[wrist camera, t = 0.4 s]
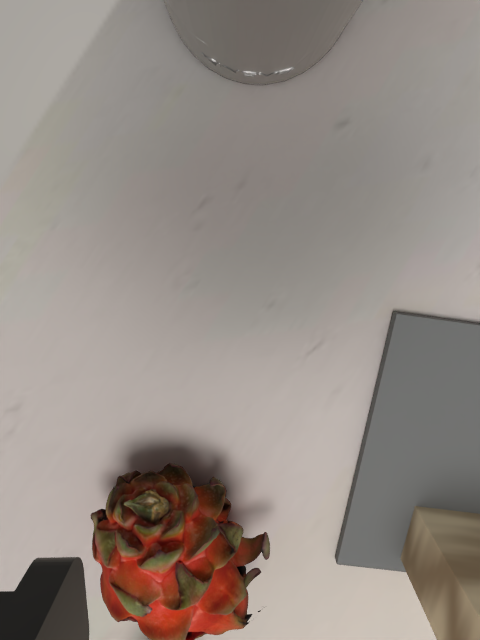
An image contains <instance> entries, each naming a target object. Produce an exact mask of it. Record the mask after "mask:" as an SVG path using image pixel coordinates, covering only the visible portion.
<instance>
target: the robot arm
mask: <svg viewBox="0 0 480 640" xmlns="http://www.w3.org/2000/svg"><path fill="white" fill-rule="evenodd" d="M362 1H363V0H164V2H165V4H166V7H167V10H168V13H169V15H170V18H171V20H172V22H173V24H174V26H175V28H176V30H177V32H178V34H179V36H180V38H181V39H182V41H183V42H184V43H185V45H186V46H187V47H188V49H189V50H190V51H191V53H192V54H193V55H194V56H195V57H196V58H197V59H199V60H200V61H201V62H202V63H203V64H204V65H205V66H207V67H208V68H209V69H211V70H212V71H214V72H216V73H218V74H220V75H222V76H223V77H225V78H227V79H231V80H234V81H238V82H242V83H245V84H265V85H266V84H271V83H276V82H281V81H285V80H288V79H290V78H292V77H294V76H297V75H299V74H301V73H303V72H305V71H306V70H307V69H309V68H310V67H312V66H313V65H314V64H316V63H317V62H318V61H320V60H321V58H322V57H323V56H324V55H325V54H326V53H327V52H328V51H329V50H330V48H331V47H332V46H333V45H334V44H335V42H336V41H337V39H338V38H339V36H340V35H341V33H342V31H343V30H344V28H345V27H346V25H347V24H348V22H349V21H350V19H351V18H352V16H353V15H354V13H355V12H356V10H357V9H358V7H359V6H360V4H361V3H362ZM0 640H89V621H88V610H87V600H86V589H85V579H84V568H83V563H82V560H81V559H80V558H79V557H63V558H37V559H35V560H34V561H33V562H32V564H31V565H30V567H29V568H28V570H27V572H26V573H25V575H24V577H23V578H22V580H21V582H20V583H19V585H18V587H17V588H16V590H15V591H9V592H0Z"/></svg>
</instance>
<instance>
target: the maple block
mask: <svg viewBox="0 0 480 640" xmlns="http://www.w3.org/2000/svg"><path fill="white" fill-rule="evenodd" d="M400 559H401V561H402V563H403V566H404V568H405V570H406V572H407V574H408V577H409V579H410V581H411V583H412V585H413V588H414V590H415V592H416V594H417V596H418V599H419V601H420V603H421V605H422V607H423V610H424V612H425V614H426V616H427V618H428V621H429V623H430V625H431V627H432V629H433V632H434V634H435V636H436V638H437V640H480V514H477V513H469V512H460V511H452V510H444V509H435V508H427V507H419V506H415V508H414V512H413V515H412V519H411V522H410V526H409V529H408V533H407V536H406V540H405V543H404V547H403V551H402V554H401V558H400Z"/></svg>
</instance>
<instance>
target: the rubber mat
mask: <svg viewBox="0 0 480 640" xmlns="http://www.w3.org/2000/svg"><path fill="white" fill-rule="evenodd" d="M415 506H419V507H427V508H435V509H444V510H452V511H460V512H469V513H477V514H480V323H473V322H466V321H459V320H452V319H445V318H437V317H430V316H423V315H416V314H409V313H401V312H394V311H393V315H392V319H391V323H390V327H389V331H388V336H387V340H386V344H385V348H384V353H383V357H382V361H381V365H380V369H379V374H378V378H377V382H376V386H375V391H374V395H373V399H372V403H371V407H370V412H369V416H368V420H367V424H366V429H365V433H364V437H363V441H362V445H361V450H360V454H359V458H358V462H357V467H356V471H355V475H354V479H353V483H352V488H351V492H350V496H349V500H348V505H347V509H346V513H345V517H344V521H343V526H342V530H341V534H340V538H339V542H338V547H337V551H336V555H335V559H336V563H337V564H339V565H348V566H357V567H366V568H375V569H384V570H393V571H401V572H406V570H405V568H404V566H403V563H402V561H401V559H400V558H401V554H402V551H403V547H404V543H405V540H406V536H407V533H408V529H409V526H410V522H411V519H412V515H413V512H414V508H415Z"/></svg>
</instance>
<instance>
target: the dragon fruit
mask: <svg viewBox="0 0 480 640" xmlns="http://www.w3.org/2000/svg"><path fill="white" fill-rule="evenodd" d="M192 486H193V485H192V481H191V478H190V477H189V475H188V474H187V473H186V471H185V470H184V469H183V467H181V466H178V465H176V464H171V463H169V464H168V465H166V466H165V467H164V469H163V470H161V471H160V472H158V473H155V472H153V471H149V472H146V473H143V474H141V473H140V472H138V471H134V472H132V473H126V474H125V475H123V476H119V477H118V479H117V485H116V487H114V488H113V490H112V491H111V492H110V494H109V497H108V500H107V503H106V510H104V509H101V510H98V511H96V512H94V513H92V514H91V519H92V520H93V522H94V532H93V541H92V551H93V557H94V559H95V560H96V561H97V562H99V563H100V564H101V566H102V574H101V578H100V582H101V583H100V585H101V593H102V597H103V601H104V602H105V604H106V606H107V608H108V610H109V612H110V614H111V616H112V617H113V618H114V619H115V620H116V621H117V622H120V621H128V620H131V621H134V622H138V625H139V627H140V630H141V631H142V632H143V633H144V634H145V635H146V636H147V637H148V638H149V639H151V640H194V639H196V638H198V637H201V636H203V635H204V634H213V635H220V634H223V633H224V632H226V631H228V630H232V629H242V628H244V627H245V626H246V625H247V624H248V623H249V622H247V621H248V620H249V618H250V617H251V616H252V614H249V615H247V608H248V592H247V589H246V587H247V586H248V584H249V583H250V582H251V581H252V580H253V579H254V578H255V577H257V576H258V575H259V574H260V573H261V571H260V569H259V568H254V569H252V570H250V571H249V572H248V573H247V574H246V567H245V566H244V565H246V564H248V563H250V562H252V561H254V560H255V559H256V558H257V557H258V556H259V554H260V553H261V552H262V553H263V557H264V558H265V559H266V560H267V559H268V558H269V555H270V543H269V538H268V535H267V533H266V532H264V534H261V535H258V536H256V537H255V538H244V537H242V534H243V528H242V527H241V526H240V525H239V524H237V523H235V522H233V521H228V520H226V519H227V517H228V513H229V511H230V508H231V503H230V501H229V500H228V499H227V498H225V496H226V489H225V486H224V485H223V484H222V483H221V481H220V480H218V479H217V478H215V477H213V478H212V479H211V480H210V484H207V485H203V486H199V487H195V488H193V487H192ZM265 607H266V606H265ZM265 607H264V608H265ZM258 612H260V610H259V611H258ZM251 621H252V620H251Z"/></svg>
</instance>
